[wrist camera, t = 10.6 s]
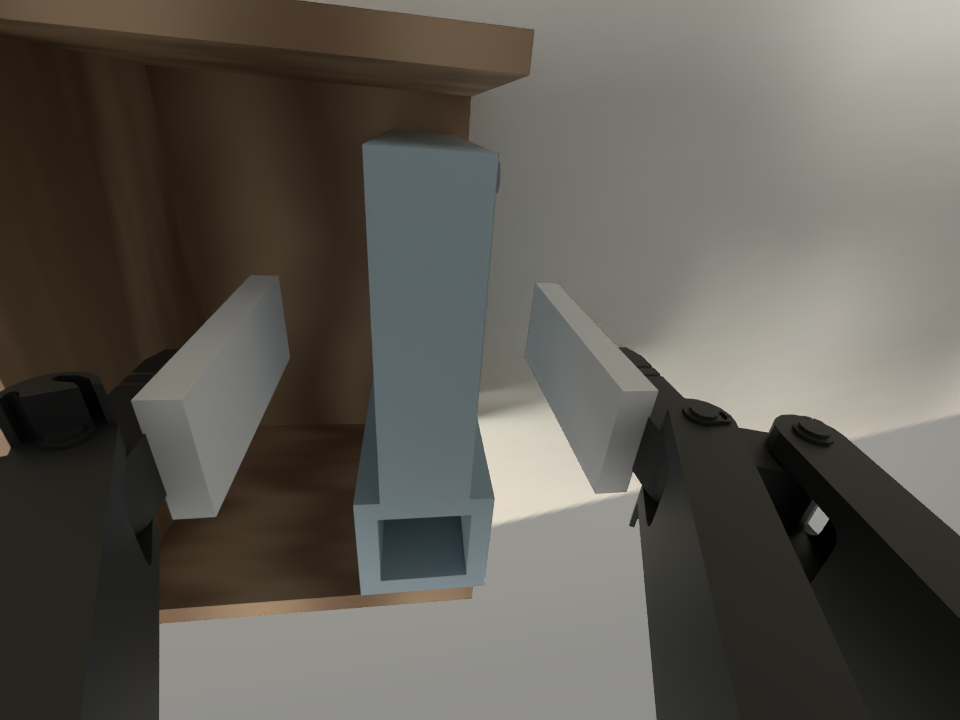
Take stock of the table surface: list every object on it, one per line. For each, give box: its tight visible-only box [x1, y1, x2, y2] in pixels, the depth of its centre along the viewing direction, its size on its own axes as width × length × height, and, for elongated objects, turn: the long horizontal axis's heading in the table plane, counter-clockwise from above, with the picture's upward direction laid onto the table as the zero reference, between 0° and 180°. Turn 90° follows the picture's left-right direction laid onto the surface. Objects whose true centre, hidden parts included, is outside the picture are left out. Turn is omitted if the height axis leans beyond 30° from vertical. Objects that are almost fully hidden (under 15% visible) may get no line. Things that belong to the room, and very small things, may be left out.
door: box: [353, 130, 500, 595], centre depth 18 cm, size 5×14×12 cm, turn 176°
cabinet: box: [0, 0, 534, 624], centre depth 18 cm, size 14×19×12 cm
